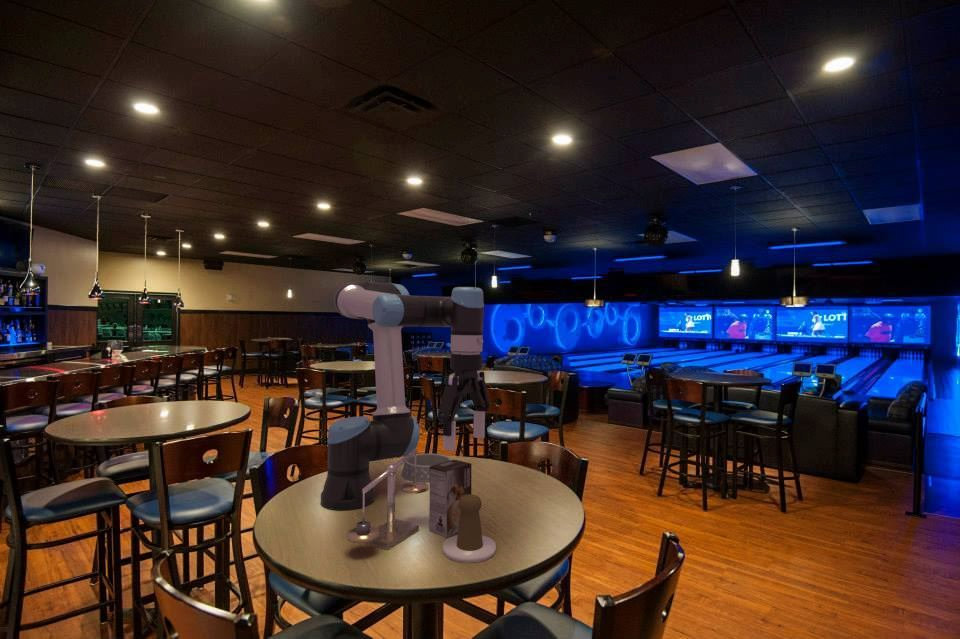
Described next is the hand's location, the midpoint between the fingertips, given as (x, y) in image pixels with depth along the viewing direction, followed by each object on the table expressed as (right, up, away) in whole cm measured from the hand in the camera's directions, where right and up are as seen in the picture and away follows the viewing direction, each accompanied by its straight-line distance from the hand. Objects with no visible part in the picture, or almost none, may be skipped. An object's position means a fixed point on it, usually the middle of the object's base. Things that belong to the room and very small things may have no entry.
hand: (464, 443), depth 116 cm
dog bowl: (-14, -24, +53) cm, 60 cm away
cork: (+1, -22, -4) cm, 22 cm away
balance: (-18, -23, +3) cm, 29 cm away
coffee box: (-4, -23, +7) cm, 25 cm away
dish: (+1, -23, -4) cm, 23 cm away
